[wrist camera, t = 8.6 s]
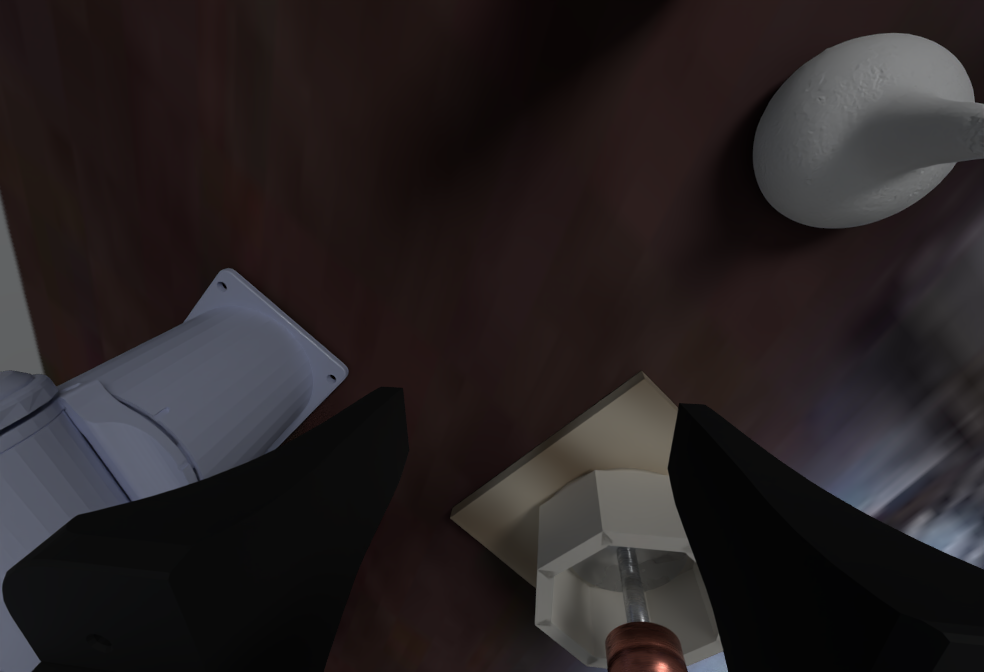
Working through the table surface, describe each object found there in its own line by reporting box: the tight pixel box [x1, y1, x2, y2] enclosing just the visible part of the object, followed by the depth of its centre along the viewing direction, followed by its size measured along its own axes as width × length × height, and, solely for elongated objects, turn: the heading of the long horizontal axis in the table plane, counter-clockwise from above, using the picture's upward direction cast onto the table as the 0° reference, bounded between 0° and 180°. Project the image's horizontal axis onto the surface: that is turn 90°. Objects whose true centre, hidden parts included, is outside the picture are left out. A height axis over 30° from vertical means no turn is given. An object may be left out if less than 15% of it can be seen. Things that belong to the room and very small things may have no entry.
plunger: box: [572, 545, 688, 672], centre depth 21 cm, size 6×6×8 cm
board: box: [450, 371, 678, 588], centre depth 26 cm, size 14×14×1 cm
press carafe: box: [535, 468, 723, 669], centre depth 23 cm, size 9×9×4 cm
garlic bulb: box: [753, 33, 984, 228], centre depth 14 cm, size 6×6×8 cm
